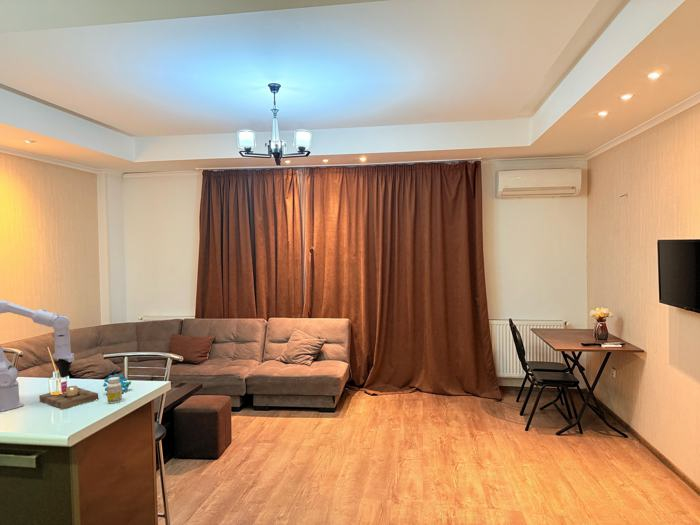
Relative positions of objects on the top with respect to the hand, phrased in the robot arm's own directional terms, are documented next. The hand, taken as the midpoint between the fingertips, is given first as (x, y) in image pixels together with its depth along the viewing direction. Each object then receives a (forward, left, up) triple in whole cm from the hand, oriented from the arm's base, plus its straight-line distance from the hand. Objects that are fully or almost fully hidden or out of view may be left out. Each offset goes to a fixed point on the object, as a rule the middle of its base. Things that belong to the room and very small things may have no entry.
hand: (64, 377), depth 200 cm
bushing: (+6, 0, -9) cm, 11 cm away
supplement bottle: (+22, +9, -10) cm, 26 cm away
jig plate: (+3, 0, -9) cm, 10 cm away
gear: (+11, +16, -10) cm, 22 cm away
